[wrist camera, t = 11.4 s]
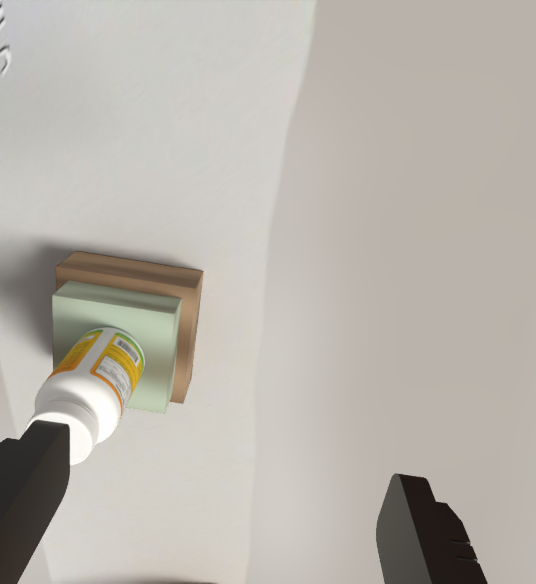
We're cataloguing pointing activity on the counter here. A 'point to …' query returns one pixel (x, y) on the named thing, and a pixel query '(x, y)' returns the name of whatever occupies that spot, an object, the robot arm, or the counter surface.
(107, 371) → the supplement bottle
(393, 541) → the robot arm
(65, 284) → the podium
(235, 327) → the counter surface
